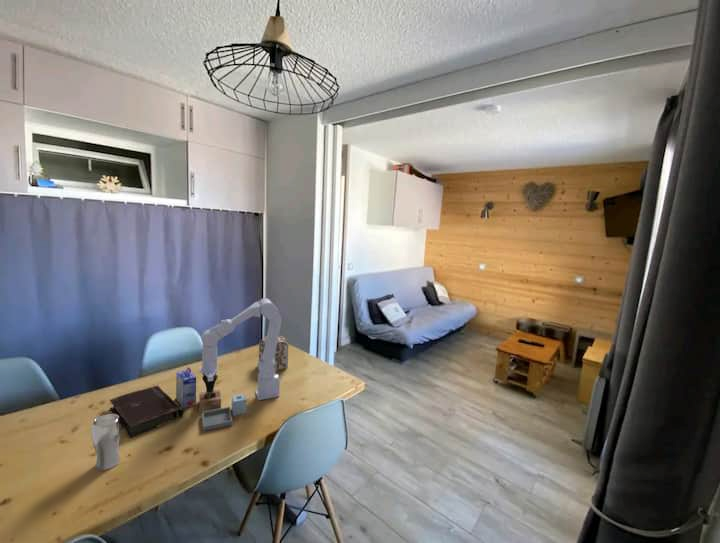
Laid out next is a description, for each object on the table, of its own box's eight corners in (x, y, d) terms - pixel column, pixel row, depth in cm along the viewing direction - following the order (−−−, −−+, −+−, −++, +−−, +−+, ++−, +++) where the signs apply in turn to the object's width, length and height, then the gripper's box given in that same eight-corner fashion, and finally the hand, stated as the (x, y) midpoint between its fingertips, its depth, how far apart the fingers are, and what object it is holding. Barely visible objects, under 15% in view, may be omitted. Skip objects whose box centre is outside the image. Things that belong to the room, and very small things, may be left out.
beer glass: (104, 455, 105) (101, 413, 102) (126, 455, 105) (124, 413, 103) (88, 472, 98) (85, 427, 95) (112, 471, 98) (109, 427, 96)
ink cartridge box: (197, 404, 136) (196, 372, 134) (182, 408, 132) (182, 375, 130) (189, 394, 143) (189, 363, 141) (175, 398, 139) (174, 367, 137)
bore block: (219, 397, 141) (219, 389, 141) (221, 407, 134) (221, 398, 134) (199, 401, 138) (199, 392, 137) (199, 411, 131) (199, 402, 130)
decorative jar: (258, 365, 175) (258, 333, 172) (277, 360, 183) (278, 329, 180) (268, 373, 166) (269, 340, 163) (288, 367, 174) (289, 336, 171)
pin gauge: (213, 393, 137) (213, 375, 136) (213, 396, 135) (213, 379, 134) (206, 394, 136) (206, 376, 135) (206, 398, 134) (206, 380, 132)
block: (244, 406, 136) (244, 393, 135) (246, 413, 132) (246, 399, 131) (231, 408, 134) (231, 395, 133) (233, 415, 130) (233, 401, 129)
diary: (159, 394, 142) (159, 384, 142) (183, 419, 127) (183, 407, 126) (107, 411, 128) (107, 399, 127) (127, 440, 112) (127, 427, 112)
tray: (229, 411, 132) (229, 406, 132) (232, 425, 123) (232, 420, 123) (202, 416, 128) (202, 411, 127) (202, 432, 119) (202, 427, 118)
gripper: (198, 353, 138) (199, 382, 140) (199, 367, 125) (199, 400, 127) (216, 351, 141) (216, 380, 143) (218, 365, 128) (218, 396, 130)
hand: (209, 389), depth 135 cm, fingers closed on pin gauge, 3 cm apart
